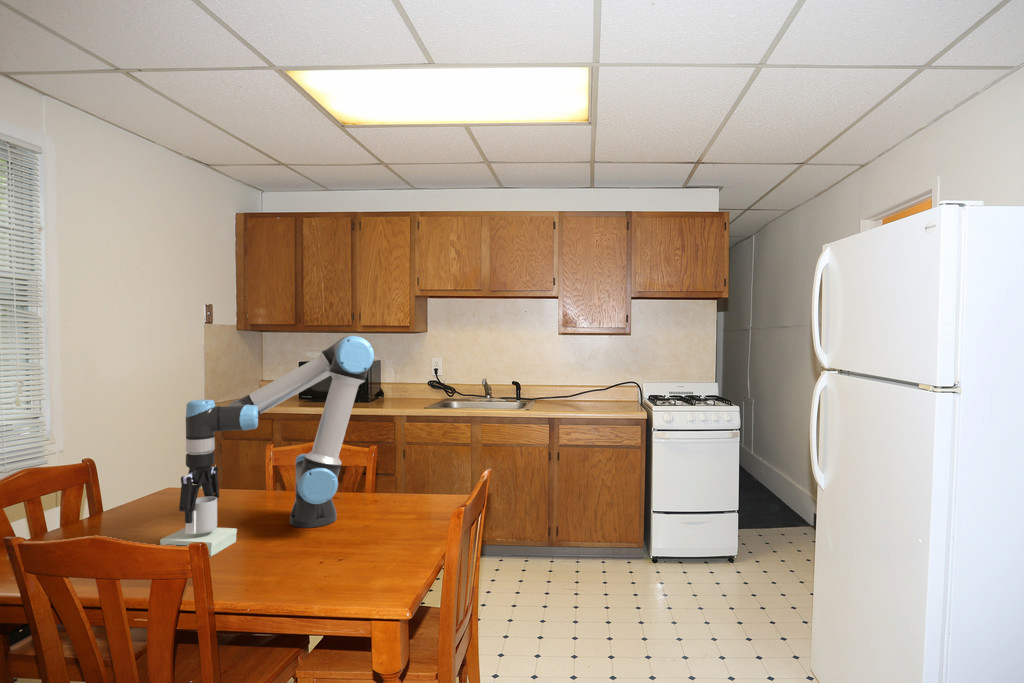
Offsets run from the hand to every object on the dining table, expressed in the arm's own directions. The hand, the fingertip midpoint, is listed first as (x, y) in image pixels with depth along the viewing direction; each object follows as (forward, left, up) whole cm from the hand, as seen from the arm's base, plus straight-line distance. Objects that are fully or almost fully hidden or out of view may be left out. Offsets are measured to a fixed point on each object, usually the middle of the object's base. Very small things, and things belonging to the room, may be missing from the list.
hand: (199, 528), depth 169 cm
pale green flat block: (0, 0, -6) cm, 6 cm away
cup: (0, -1, 0) cm, 1 cm away
